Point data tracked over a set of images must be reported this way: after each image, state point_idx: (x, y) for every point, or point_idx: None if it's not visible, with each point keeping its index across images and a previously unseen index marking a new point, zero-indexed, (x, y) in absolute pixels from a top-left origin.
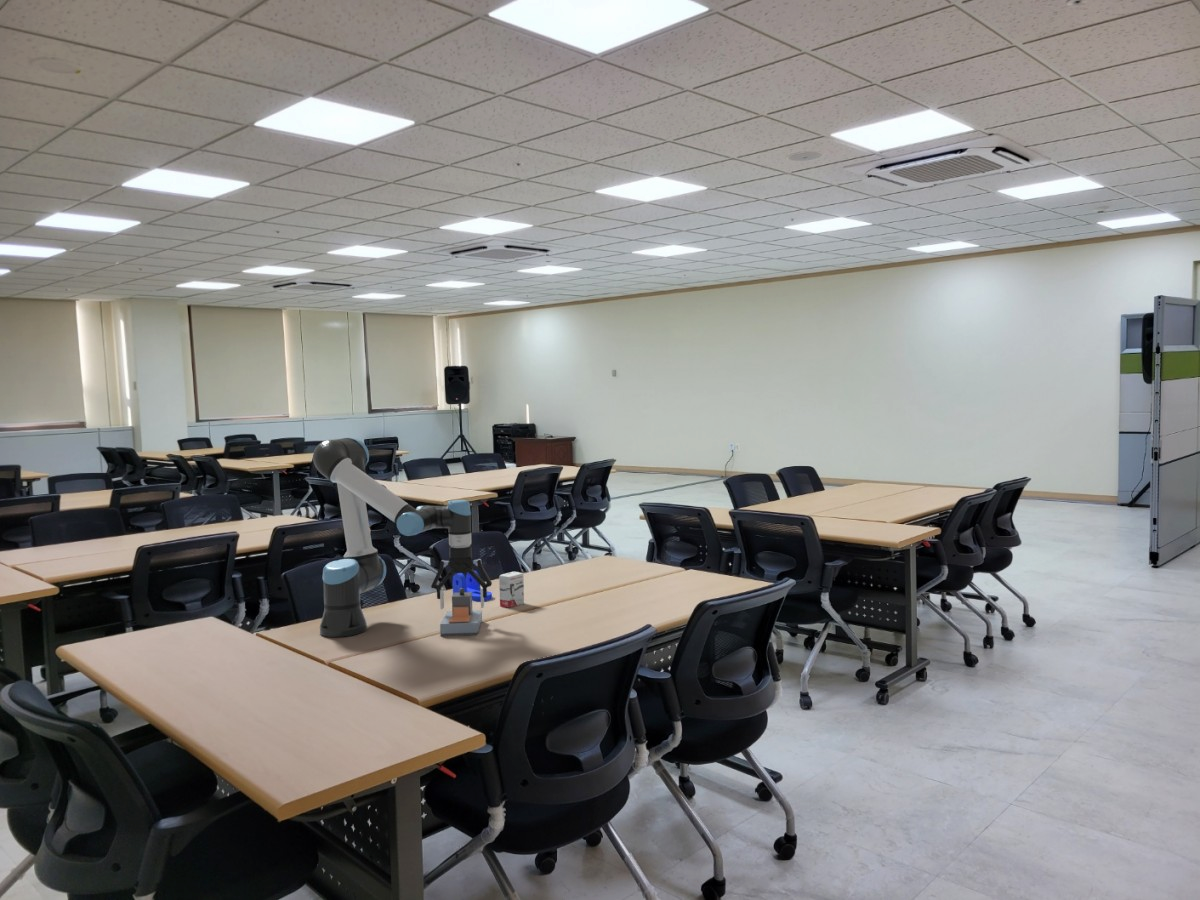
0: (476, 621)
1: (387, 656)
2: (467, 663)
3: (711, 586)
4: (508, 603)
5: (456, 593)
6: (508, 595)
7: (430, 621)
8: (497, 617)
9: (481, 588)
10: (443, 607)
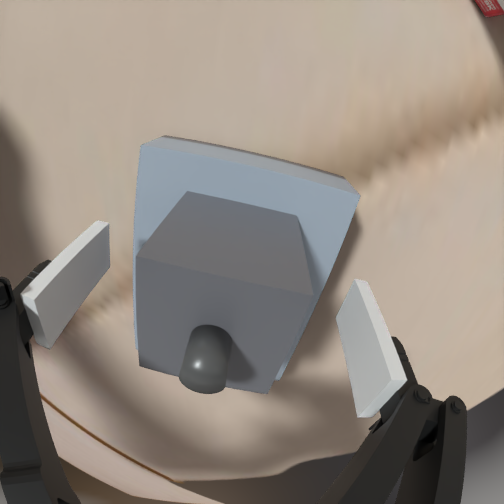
0: (281, 367)
1: (72, 385)
2: (228, 453)
3: None
4: (496, 12)
5: (160, 294)
6: None
7: (92, 90)
8: (425, 132)
9: (371, 408)
10: (107, 246)
